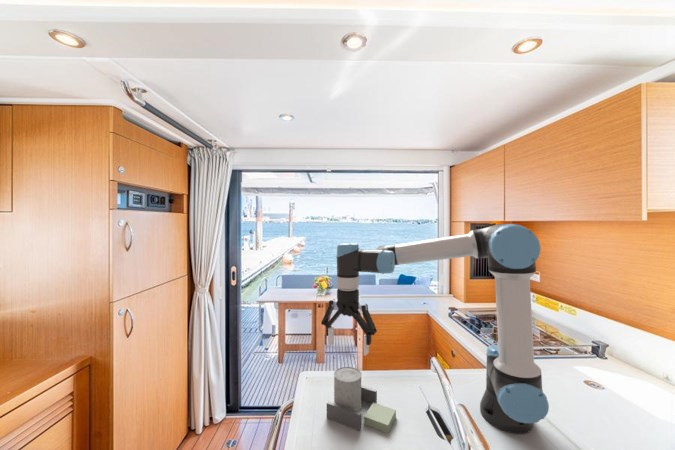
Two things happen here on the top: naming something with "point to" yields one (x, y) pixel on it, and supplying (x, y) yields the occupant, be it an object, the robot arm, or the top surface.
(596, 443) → the top surface
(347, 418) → the parallel grey rails
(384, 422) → the block
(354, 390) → the grey cylindrical piece
